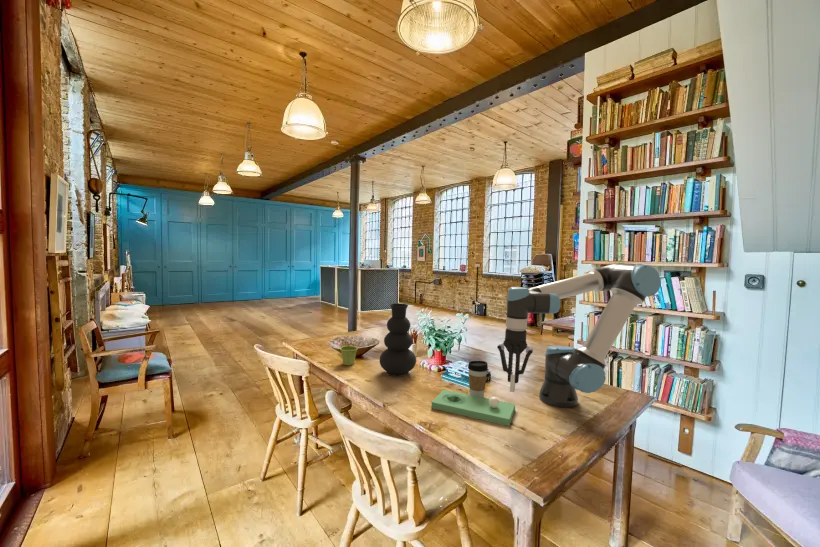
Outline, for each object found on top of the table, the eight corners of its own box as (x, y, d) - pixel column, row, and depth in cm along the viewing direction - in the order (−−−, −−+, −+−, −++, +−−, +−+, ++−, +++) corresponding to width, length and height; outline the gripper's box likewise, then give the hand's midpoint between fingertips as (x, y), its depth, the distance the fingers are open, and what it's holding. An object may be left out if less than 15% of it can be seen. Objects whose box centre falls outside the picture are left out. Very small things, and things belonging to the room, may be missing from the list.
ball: (500, 406, 135) (500, 396, 135) (498, 410, 132) (498, 400, 131) (489, 404, 137) (490, 394, 137) (487, 408, 133) (487, 398, 133)
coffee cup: (486, 401, 145) (488, 366, 144) (466, 399, 147) (467, 364, 146) (486, 393, 153) (487, 360, 152) (467, 391, 155) (468, 358, 154)
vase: (403, 383, 163) (405, 309, 161) (371, 375, 172) (373, 305, 170) (422, 371, 179) (424, 304, 177) (392, 365, 188) (393, 300, 186)
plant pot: (351, 360, 195) (352, 344, 195) (360, 364, 188) (360, 348, 187) (336, 363, 189) (336, 347, 189) (345, 367, 182) (345, 351, 181)
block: (515, 410, 138) (515, 404, 138) (509, 426, 125) (509, 419, 125) (443, 395, 150) (443, 389, 150) (431, 408, 138) (431, 402, 138)
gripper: (535, 329, 130) (531, 390, 131) (500, 324, 135) (496, 384, 137) (533, 333, 123) (529, 398, 125) (496, 328, 129) (492, 390, 130)
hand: (512, 390), depth 131 cm, fingers closed
